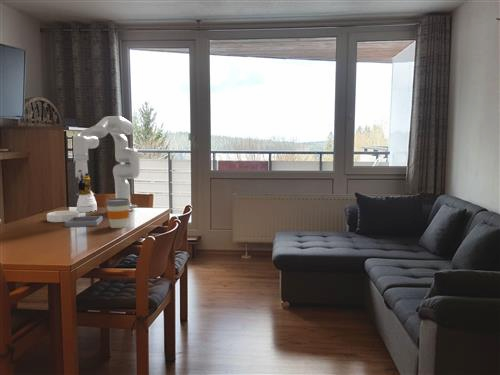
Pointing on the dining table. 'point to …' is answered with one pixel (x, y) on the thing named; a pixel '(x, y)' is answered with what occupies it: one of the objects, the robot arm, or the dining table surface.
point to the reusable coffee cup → (118, 212)
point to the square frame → (84, 221)
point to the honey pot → (86, 203)
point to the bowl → (61, 216)
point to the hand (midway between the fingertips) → (83, 188)
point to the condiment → (86, 186)
